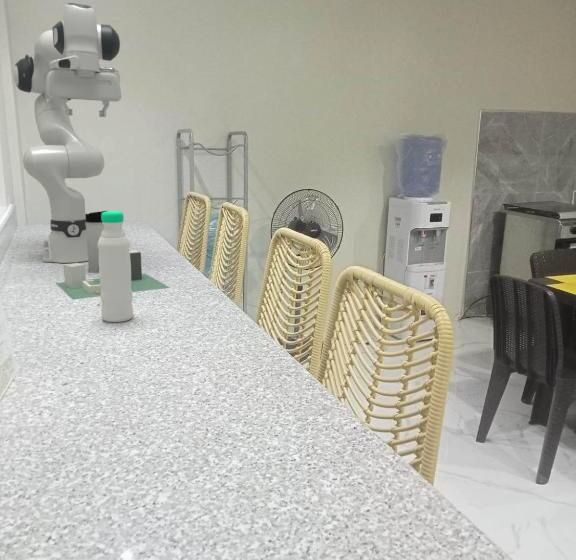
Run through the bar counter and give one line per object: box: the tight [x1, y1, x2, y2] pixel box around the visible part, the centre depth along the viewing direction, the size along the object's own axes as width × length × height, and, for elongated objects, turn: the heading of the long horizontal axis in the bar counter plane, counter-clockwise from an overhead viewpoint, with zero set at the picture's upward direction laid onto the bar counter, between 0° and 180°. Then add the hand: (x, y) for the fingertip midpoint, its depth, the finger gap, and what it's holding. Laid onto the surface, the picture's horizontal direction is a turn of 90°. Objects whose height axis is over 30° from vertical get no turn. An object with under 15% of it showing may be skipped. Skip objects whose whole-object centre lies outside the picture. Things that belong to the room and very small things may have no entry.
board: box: [55, 273, 171, 300], centre depth 159 cm, size 20×26×3 cm
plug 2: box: [129, 249, 143, 281], centre depth 166 cm, size 5×5×8 cm
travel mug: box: [85, 210, 107, 274], centre depth 175 cm, size 6×7×20 cm
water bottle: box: [98, 210, 134, 323], centre depth 130 cm, size 7×7×25 cm
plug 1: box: [63, 262, 87, 288], centre depth 157 cm, size 5×4×6 cm
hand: (86, 116), depth 163 cm, fingers open, 8 cm apart
